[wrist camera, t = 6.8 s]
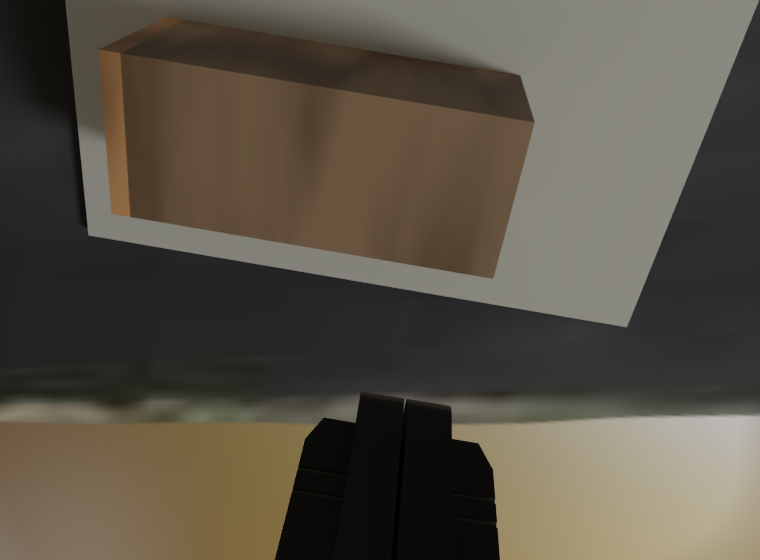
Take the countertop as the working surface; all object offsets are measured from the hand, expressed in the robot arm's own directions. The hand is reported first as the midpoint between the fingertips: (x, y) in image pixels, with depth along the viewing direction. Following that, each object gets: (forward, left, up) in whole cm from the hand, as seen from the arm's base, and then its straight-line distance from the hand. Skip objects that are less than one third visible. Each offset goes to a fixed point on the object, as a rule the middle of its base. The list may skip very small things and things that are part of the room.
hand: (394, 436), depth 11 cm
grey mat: (-2, 0, -15) cm, 15 cm away
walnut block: (+3, 0, -12) cm, 13 cm away
